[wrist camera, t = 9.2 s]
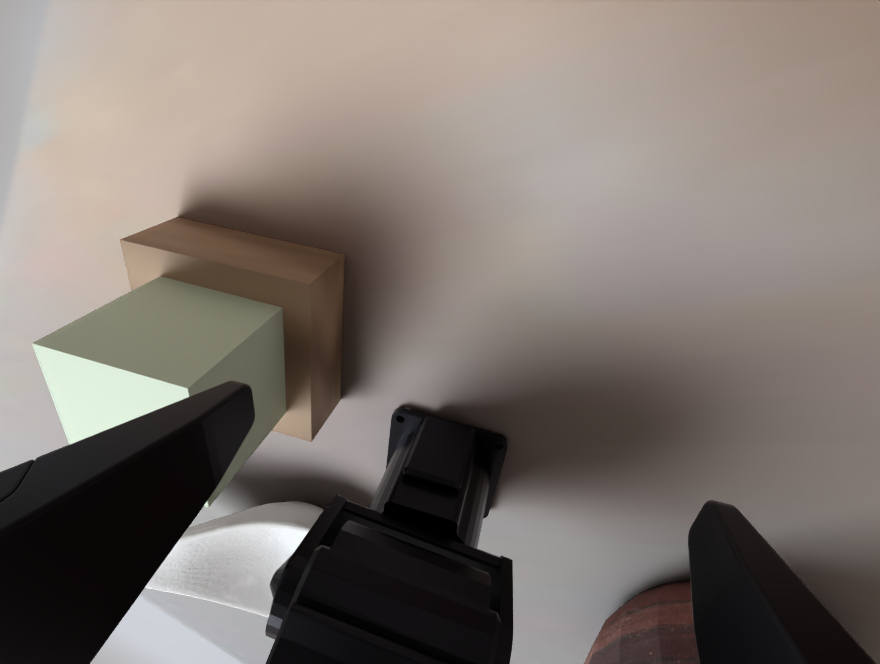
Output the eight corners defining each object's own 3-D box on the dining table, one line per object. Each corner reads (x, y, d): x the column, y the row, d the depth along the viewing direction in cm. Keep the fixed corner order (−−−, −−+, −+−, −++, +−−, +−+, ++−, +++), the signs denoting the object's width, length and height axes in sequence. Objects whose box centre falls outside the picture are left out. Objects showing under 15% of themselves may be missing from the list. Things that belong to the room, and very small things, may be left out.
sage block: (286, 411, 24) (208, 507, 19) (179, 381, 24) (77, 464, 19) (282, 307, 21) (187, 388, 16) (160, 275, 21) (31, 343, 16)
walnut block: (343, 395, 28) (311, 441, 24) (205, 358, 29) (156, 397, 26) (347, 251, 23) (309, 284, 20) (182, 215, 24) (119, 239, 21)
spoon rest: (411, 510, 31) (371, 619, 25) (380, 602, 37) (343, 707, 31) (90, 389, 33) (-18, 464, 27) (112, 496, 39) (28, 576, 33)
